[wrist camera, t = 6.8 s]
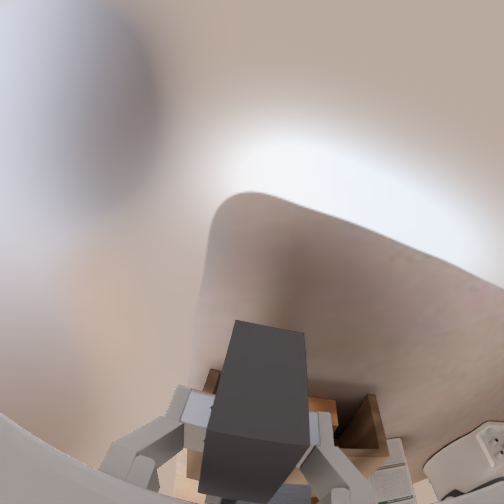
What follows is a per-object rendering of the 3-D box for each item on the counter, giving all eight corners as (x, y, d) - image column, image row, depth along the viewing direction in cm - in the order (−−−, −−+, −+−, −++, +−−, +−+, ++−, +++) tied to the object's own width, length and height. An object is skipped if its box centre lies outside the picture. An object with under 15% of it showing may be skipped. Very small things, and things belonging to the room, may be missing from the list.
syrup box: (363, 441, 33) (375, 529, 19) (402, 436, 32) (420, 519, 18) (355, 460, 35) (362, 540, 21) (390, 455, 34) (404, 531, 20)
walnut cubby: (375, 394, 29) (389, 456, 21) (342, 443, 33) (346, 497, 25) (210, 368, 30) (188, 433, 22) (203, 422, 34) (186, 477, 25)
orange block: (335, 399, 30) (338, 425, 26) (323, 419, 32) (325, 444, 28) (302, 395, 30) (302, 422, 27) (292, 415, 32) (291, 441, 28)
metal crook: (409, 347, 11) (450, 441, 6) (302, 494, 16) (300, 548, 12) (235, 319, 11) (206, 429, 6) (205, 480, 17) (192, 535, 12)
